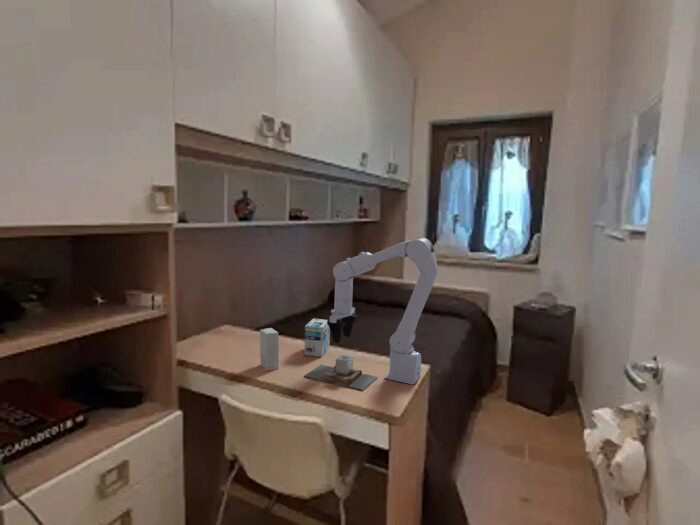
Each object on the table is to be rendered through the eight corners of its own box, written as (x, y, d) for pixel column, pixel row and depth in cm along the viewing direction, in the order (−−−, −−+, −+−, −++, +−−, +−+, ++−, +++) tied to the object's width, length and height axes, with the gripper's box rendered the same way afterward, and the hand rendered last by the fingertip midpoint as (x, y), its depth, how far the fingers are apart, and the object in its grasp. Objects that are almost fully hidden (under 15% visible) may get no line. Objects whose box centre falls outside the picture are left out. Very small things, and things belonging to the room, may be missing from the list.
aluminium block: (352, 376, 141) (353, 357, 140) (346, 380, 137) (347, 361, 136) (340, 373, 142) (341, 355, 141) (335, 377, 139) (335, 359, 138)
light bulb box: (322, 357, 157) (323, 327, 156) (303, 355, 158) (304, 325, 157) (329, 347, 167) (330, 319, 166) (312, 346, 169) (313, 317, 167)
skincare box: (279, 368, 145) (280, 332, 143) (266, 371, 143) (266, 334, 141) (271, 362, 150) (272, 327, 149) (259, 364, 148) (259, 328, 146)
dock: (377, 378, 141) (377, 372, 141) (363, 391, 131) (363, 384, 131) (321, 365, 149) (321, 360, 149) (303, 377, 139) (303, 371, 139)
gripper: (342, 293, 154) (340, 331, 156) (321, 301, 141) (320, 343, 143) (361, 295, 151) (359, 335, 153) (341, 304, 138) (340, 347, 140)
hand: (341, 339), depth 148 cm, fingers open, 7 cm apart
